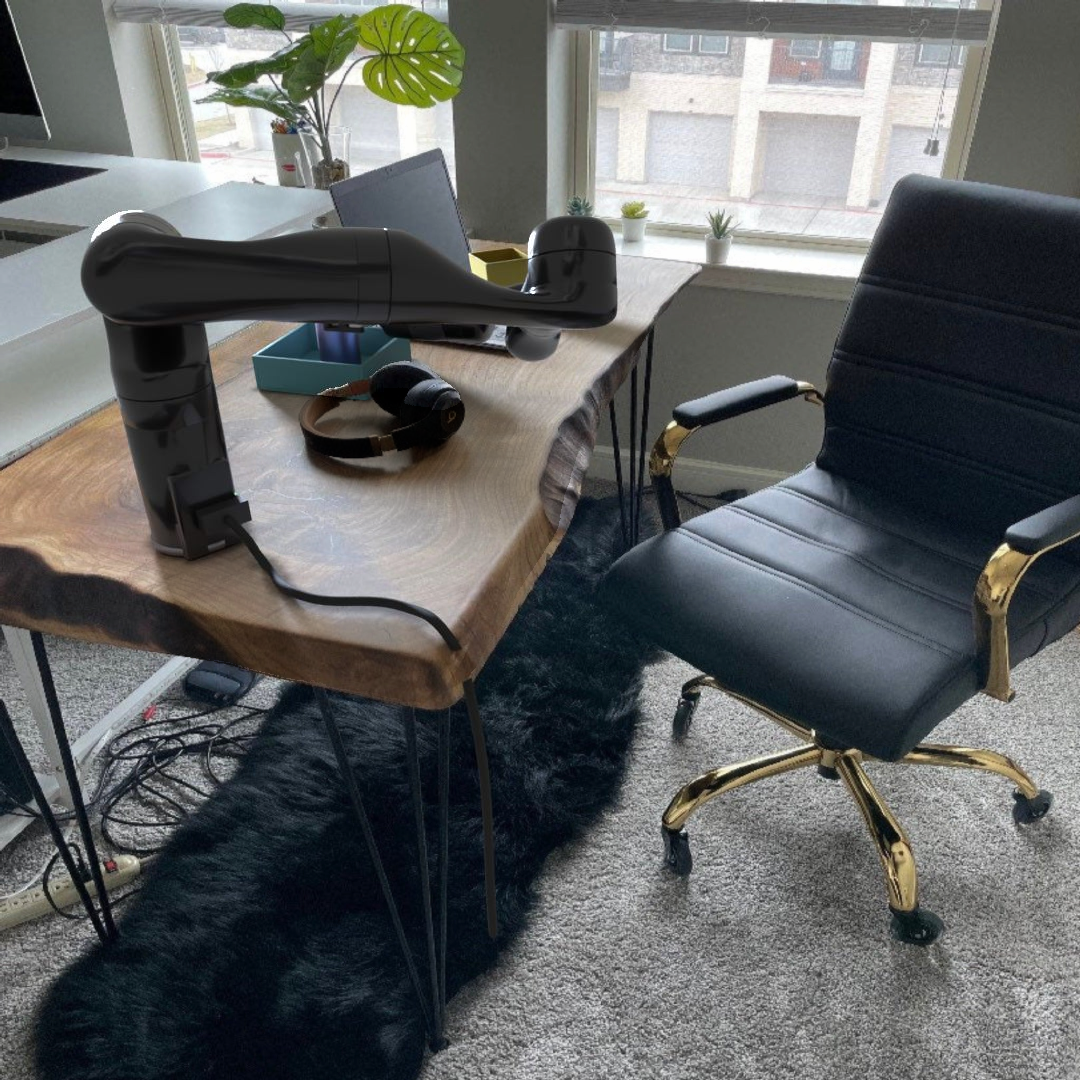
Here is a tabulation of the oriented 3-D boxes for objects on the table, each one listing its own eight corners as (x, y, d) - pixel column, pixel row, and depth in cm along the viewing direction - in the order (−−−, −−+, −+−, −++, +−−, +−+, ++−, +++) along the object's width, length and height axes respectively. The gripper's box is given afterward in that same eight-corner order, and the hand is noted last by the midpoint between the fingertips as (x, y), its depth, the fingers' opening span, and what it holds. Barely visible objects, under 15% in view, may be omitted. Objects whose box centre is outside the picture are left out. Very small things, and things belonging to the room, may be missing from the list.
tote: (411, 361, 152) (409, 329, 149) (366, 400, 138) (362, 366, 136) (311, 351, 156) (306, 320, 154) (257, 389, 143) (251, 356, 140)
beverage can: (353, 377, 145) (340, 275, 137) (315, 374, 146) (300, 273, 138) (368, 363, 150) (356, 263, 142) (331, 360, 151) (318, 261, 143)
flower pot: (470, 303, 177) (467, 252, 172) (515, 296, 180) (513, 246, 175) (489, 316, 170) (486, 263, 165) (535, 309, 173) (534, 257, 168)
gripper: (402, 355, 134) (295, 345, 138) (441, 323, 146) (341, 315, 150) (397, 301, 130) (287, 292, 135) (437, 272, 142) (335, 265, 146)
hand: (316, 304), depth 142 cm, fingers open, 8 cm apart
